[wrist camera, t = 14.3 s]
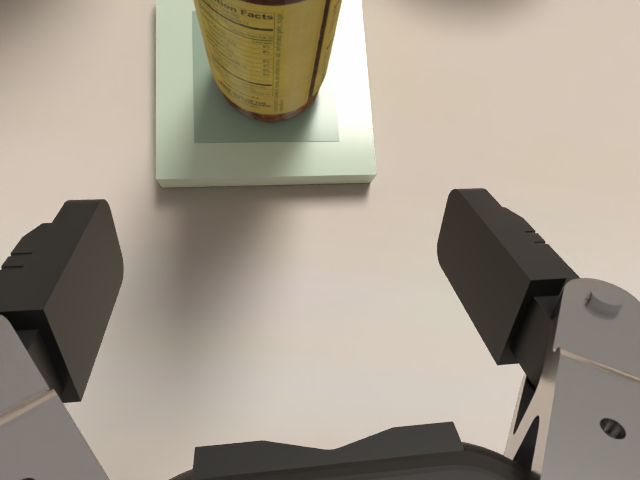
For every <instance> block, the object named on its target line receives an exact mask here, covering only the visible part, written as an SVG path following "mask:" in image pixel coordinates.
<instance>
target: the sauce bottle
mask: <svg viewBox="0 0 640 480" xmlns="http://www.w3.org/2000/svg"><path fill="white" fill-rule="evenodd" d="M193 1H194V5H195V9H196V13H197V17H198V21H199V25H200V29H201V33H202V37H203V41H204V45H205V49H206V53H207V57H208V61H209V65H210V69H211V72H212V75H213V78H214V80H215V82H216V83H217V85H218V87H219V88H220V90H221V91H222V93H223V95H224V97H225V99H226V100H227V102H228V103H229V104H230V105H231V106H232V107H234V108H235V109H237V110H239V111H240V112H241V113H244V114H245V115H247V116H249V117H252V118H254V119H257V120H261V121H264V122H272V123H273V122H277V121H281V120H286V119H288V118H290V117H293V116H295V115H297V114H299V113H300V112H302V111H304V110H305V109H307V108H309V107H310V105H311V104H312V103H313V101H314V100H315V98H316V96H317V94H318V92H319V89H320V87H321V85H322V83H323V81H324V78H325V76H326V72H327V69H328V64H329V59H330V55H331V50H332V46H333V41H334V37H335V32H336V27H337V22H338V18H339V13H340V9H341V4H342V0H193Z"/></svg>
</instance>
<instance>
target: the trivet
mask: <svg viewBox="0 0 640 480" xmlns="http://www.w3.org/2000/svg"><path fill="white" fill-rule="evenodd" d="M376 175H377V172H376V161H375V150H374V139H373V128H372V116H371V105H370V94H369V83H368V72H367V61H366V50H365V38H364V27H363V16H362V5H361V0H342V4H341V9H340V13H339V18H338V22H337V27H336V32H335V37H334V41H333V46H332V50H331V55H330V59H329V64H328V69H327V72H326V76H325V78H324V81H323V83H322V85H321V87H320V89H319V92H318V94H317V96H316V98H315V100H314V101H313V103H312V104H311V105H310V107H309V108H307V109H305V110H304V111H302V112H300V113H299V114H297V115H295V116H293V117H290V118H288V119H286V120H281V121H277V122H273V123H272V122H264V121H261V120H257V119H254V118H252V117H249V116H247V115H245V114H244V113H241V112H240V111H239V110H237V109H235V108H234V107H232V106H231V105H230V104H229V103H228V102H227V100H226V99H225V97H224V95H223V93H222V91H221V90H220V88H219V87H218V85H217V83H216V82H215V80H214V78H213V75H212V72H211V69H210V65H209V61H208V57H207V53H206V49H205V45H204V41H203V37H202V33H201V29H200V25H199V21H198V17H197V13H196V9H195V5H194V1H193V0H156V180H157V182H158V183H159V184H160V186H161V187H162V188H167V187H209V186H251V185H293V184H335V183H371V181H372V180H373V179H374V177H375V176H376Z"/></svg>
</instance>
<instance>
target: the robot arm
mask: <svg viewBox="0 0 640 480" xmlns="http://www.w3.org/2000/svg"><path fill="white" fill-rule="evenodd" d="M437 255H438V260H439V264H440V266H441V268H442V270H443V271H444V273H445V275H446V277H447V278H448V280H449V282H450V284H451V285H452V287H453V289H454V291H455V292H456V294H457V296H458V298H459V299H460V301H461V303H462V304H463V306H464V308H465V310H466V311H467V313H468V315H469V317H470V318H471V320H472V322H473V324H474V325H475V327H476V329H477V331H478V332H479V334H480V336H481V338H482V339H483V341H484V343H485V345H486V346H487V348H488V350H489V352H490V353H491V355H492V357H493V359H494V360H495V362H496V364H497V365H505V364H517V363H519V364H520V366H521V367H522V369H523V370H524V372H525V375H524V377H523V379H522V382H521V385H520V390H519V394H518V398H517V402H516V406H515V410H514V415H513V419H512V423H511V427H510V431H509V436H508V440H507V444H506V448H505V451H504V454H503V455H501V454H499V453H497V452H494V451H492V450H489V449H486V448H484V447H481V446H477V445H473V444H469V443H465V442H461V440H460V438H459V435H458V433H457V430H456V428H455V426H454V423H453V422H444V423H434V424H424V425H414V426H404V427H394V428H391V429H388V430H385V431H383V432H380V433H377V434H375V435H372V436H369V437H367V438H364V439H361V440H359V441H356V442H353V443H351V444H348V445H346V446H343V447H340V448H337V449H333V450H324V449H317V448H310V447H303V446H296V445H289V444H282V443H275V442H269V441H253V442H243V443H233V444H223V445H213V446H203V447H195V454H194V464H193V469H192V470H189V471H187V472H184V473H182V474H180V475H178V476H176V477H173V478H171V479H169V480H640V302H639V301H638V300H637V299H636V298H635V297H634V296H632V295H631V294H630V293H628V292H627V291H625V290H623V289H621V288H620V287H618V286H615V285H613V284H611V283H608V282H605V281H601V280H597V279H590V278H580V277H579V276H578V275H577V274H576V273H575V272H574V271H573V270H572V269H571V268H570V267H569V266H568V265H567V264H566V263H565V262H564V261H563V260H562V258H561V257H560V256H559V255H558V254H557V253H556V252H555V251H554V250H553V249H552V248H551V247H550V246H549V245H548V244H545V241H544V240H543V238H542V237H541V236H540V235H539V234H538V233H535V230H534V229H533V228H532V227H531V226H530V225H529V224H528V223H527V222H526V221H525V220H524V218H522V217H520V216H519V215H517V214H515V213H514V212H512V211H510V210H509V209H507V208H505V207H502V206H501V205H500V204H499V203H498V202H497V201H496V200H495V199H494V198H493V197H492V195H491V194H490V193H489V192H488V191H487V190H486V189H483V188H477V189H453V190H452V191H451V192H450V194H449V196H448V199H447V204H446V208H445V212H444V217H443V221H442V225H441V230H440V234H439V238H438V243H437ZM1 267H2V270H0V480H109V478H108V476H107V475H106V473H105V472H104V470H103V468H102V467H101V465H100V463H99V462H98V460H97V458H96V457H95V455H94V454H93V452H92V450H91V449H90V447H89V445H88V444H87V442H86V440H85V439H84V437H83V436H82V434H81V432H80V431H79V429H78V427H77V426H76V424H75V422H74V421H73V419H72V418H71V416H70V414H69V413H68V411H67V409H66V408H65V406H64V404H63V403H67V402H79V401H81V400H82V397H83V394H84V391H85V388H86V385H87V383H88V380H89V377H90V374H91V371H92V368H93V365H94V362H95V359H96V357H97V354H98V351H99V348H100V345H101V342H102V339H103V336H104V333H105V330H106V328H107V325H108V322H109V319H110V316H111V313H112V310H113V307H114V304H115V302H116V299H117V296H118V293H119V290H120V287H121V284H122V280H123V258H122V253H121V249H120V245H119V241H118V237H117V233H116V229H115V226H114V222H113V218H112V214H111V210H110V207H109V204H108V202H107V201H106V200H104V199H96V200H68V201H66V202H65V203H64V205H63V207H62V208H61V210H60V211H59V213H58V214H57V216H56V217H55V219H54V220H53V222H52V223H42V224H41V225H39V226H38V227H37V228H35V229H34V230H32V231H31V232H29V233H28V234H26V235H25V236H24V237H22V238H21V240H20V241H19V243H18V244H17V245H16V247H15V248H14V250H13V251H12V252H11V256H9V257H8V258H7V259H6V261H5V262H4V264H3V265H2V266H1Z"/></svg>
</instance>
